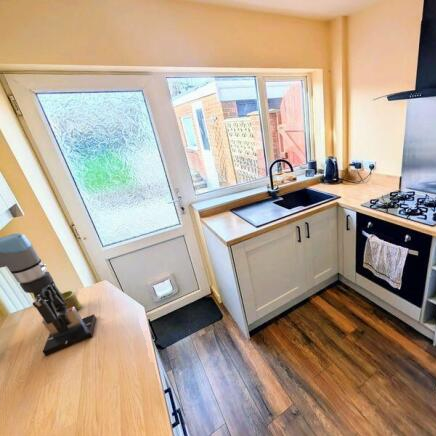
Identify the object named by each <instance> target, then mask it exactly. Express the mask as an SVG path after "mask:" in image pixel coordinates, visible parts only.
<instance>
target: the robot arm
mask: <svg viewBox="0 0 436 436" xmlns="http://www.w3.org/2000/svg"><path fill="white" fill-rule="evenodd" d="M5 267H6V268H7V269H8V270H9V272H10V274H11V275H12V276H13V278H14V280H15V281H16V282H17V283H18V284H19V286H20V287H21V289H22V291H23V292H24V293H27V294H30V293H31V294H33V296H34V299H35V301H33V302H32V306H33V307H34V308H36V310H37V311H38V313H39V314H40V316H41V317H42V320H43V319H44V320H45V322H46V323H47V324H50V323H52V324H53V325H54V326H55V328H56V329H57V331H58V332H59V334H62V333H64V332H67V331H69V328H68V326H67V325H66V323H65V322H64V320H63V319H62V317H59V315H58V312H61V311H63V310H66V307H64V306H65V305H67V302H66V303H64V302H65V299H64V298H63V296H62V295H61V291H60V290H59V288H58V287H57V285H56V282H55V281H54V278H53V277H52V275H51V273H50V271H48V269H47V264H45V263H43V261H42V259H41V258H40V257H39V255H38V254H37V252H36V250H35V248H34V246H33V243H32V242H30V240H29V239H28V237H27V236H26V235H25V234H24V233H19V232H17V233H11V234H7V235H4V236H1V237H0V268H5ZM55 308H56V309H55ZM57 308H58V309H57Z"/></svg>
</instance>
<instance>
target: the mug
mask: <svg viewBox="0 0 436 436" xmlns="http://www.w3.org/2000/svg"><path fill="white" fill-rule="evenodd" d="M60 293H61V295H62V296H63V298H64V299H65V302H64V303H66V302H67V305H65V306H64V307H66V309H69V308H71V307H75V309H76V310H77V312H78V311H79V310H81V308H82V304H81V302H80V301H79V299H78V296H77V295H76V293H75V292H74V291H73V290H68V291H64V292H61V291H60ZM55 309H56V308H55ZM57 309H58V308H57Z"/></svg>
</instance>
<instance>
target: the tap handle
mask: <svg viewBox="0 0 436 436" xmlns="http://www.w3.org/2000/svg"><path fill="white" fill-rule="evenodd" d="M58 315H59V317H62V319H63V320H64V322H65V323H66V325H67V326H68V328H69V331H67V332H64V333H62V334H59V332H58V331H57V329H56V328H55V326H54V325H53V324H52V323H50V324H47V323H46V322H45V320H44V319H43V318H42V320H41V323H42V324H43V325H44V327H45V329H46V330H47V331H48V332H49V335H50V334H51V335H52V336H53V338H54V339H56V338H59V337H62V336H64V335H67V334H69V333H72V332H74V331H77V330H79V329H82V328H84V325H85V323H84V322H83V320H82V319H83V318H82V317H81V315H80V313H79V312H78V311H77V310H76V309H75V307H71V308H69V309H66V310H63V311H61V312H58Z"/></svg>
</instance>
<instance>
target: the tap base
mask: <svg viewBox="0 0 436 436" xmlns="http://www.w3.org/2000/svg"><path fill="white" fill-rule="evenodd" d="M97 319H98V318H97V316H96V315H95V314H91V315H88V316H86V317H83V318H82V320H83V322H84V323H85V325H84V328H82V329H79V330H77V331H74V332H72V333H69V334H67V335H64V336H62V337H59V338H56V339H54V338H53V336H52V335H51V334H50V333H49V334H48V337H47V339H46V342H45V343H44V347H43V349H42V353H43V354H44V356H45V357H48V356H50V355H53V354H55V353H58V352H60V351H62V350H65V349H67V348H69V347H72V346H74V345H77V344H79V343H82V342H84V341H86V340H89V339H91V338H92V339H93V337H94V332H95V329H96V323H97Z"/></svg>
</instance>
